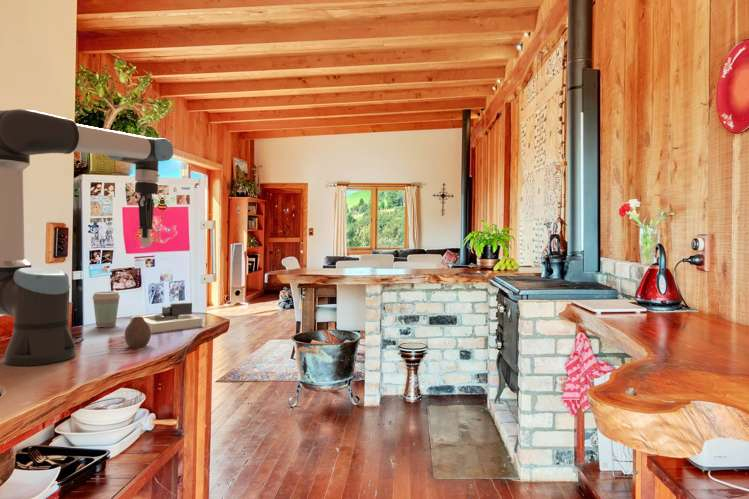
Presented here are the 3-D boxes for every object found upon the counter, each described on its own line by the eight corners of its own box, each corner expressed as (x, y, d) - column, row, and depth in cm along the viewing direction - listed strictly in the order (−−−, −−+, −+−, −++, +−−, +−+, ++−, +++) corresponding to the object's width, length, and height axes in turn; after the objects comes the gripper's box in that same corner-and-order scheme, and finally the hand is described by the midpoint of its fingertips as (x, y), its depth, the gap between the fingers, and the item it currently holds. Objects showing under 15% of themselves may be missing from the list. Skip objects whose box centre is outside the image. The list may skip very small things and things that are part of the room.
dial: (156, 323, 163) (157, 306, 162) (152, 319, 169) (152, 303, 169) (193, 320, 170) (194, 303, 170) (188, 317, 176) (188, 301, 176)
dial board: (151, 333, 156) (152, 323, 155) (130, 325, 167) (130, 316, 167) (202, 326, 169) (202, 317, 169) (178, 319, 181) (178, 311, 181)
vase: (146, 342, 142) (146, 314, 141) (154, 347, 137) (154, 317, 136) (121, 346, 137) (121, 316, 137) (128, 350, 132) (129, 320, 132)
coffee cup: (124, 324, 168) (125, 291, 168) (109, 329, 159) (109, 294, 159) (102, 323, 169) (103, 290, 168) (86, 328, 160) (86, 293, 160)
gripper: (153, 181, 164) (152, 247, 165) (162, 185, 177) (160, 246, 178) (130, 180, 163) (129, 247, 163) (140, 184, 175) (139, 246, 176)
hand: (145, 246), depth 170 cm, fingers closed
